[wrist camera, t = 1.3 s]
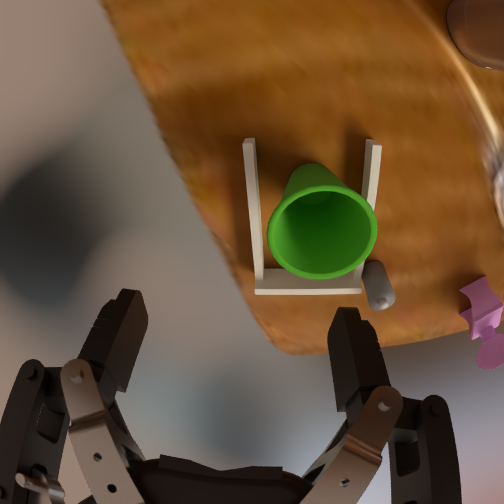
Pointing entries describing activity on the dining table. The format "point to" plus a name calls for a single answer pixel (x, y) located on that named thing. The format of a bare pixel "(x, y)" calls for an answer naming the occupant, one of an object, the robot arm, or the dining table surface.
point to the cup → (320, 225)
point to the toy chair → (485, 322)
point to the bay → (292, 284)
